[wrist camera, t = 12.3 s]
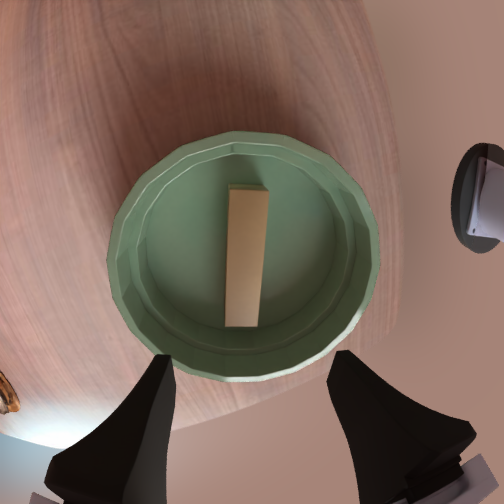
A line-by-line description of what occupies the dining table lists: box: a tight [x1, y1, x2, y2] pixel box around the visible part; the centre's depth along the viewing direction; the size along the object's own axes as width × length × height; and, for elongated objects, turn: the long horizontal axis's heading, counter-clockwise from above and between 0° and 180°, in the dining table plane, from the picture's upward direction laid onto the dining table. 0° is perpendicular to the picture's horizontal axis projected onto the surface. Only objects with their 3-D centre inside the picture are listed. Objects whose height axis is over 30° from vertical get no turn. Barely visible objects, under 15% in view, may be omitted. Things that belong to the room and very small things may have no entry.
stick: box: [224, 183, 269, 327], centre depth 18 cm, size 2×9×2 cm, turn 176°
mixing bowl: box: [106, 131, 380, 382], centre depth 17 cm, size 15×15×5 cm
